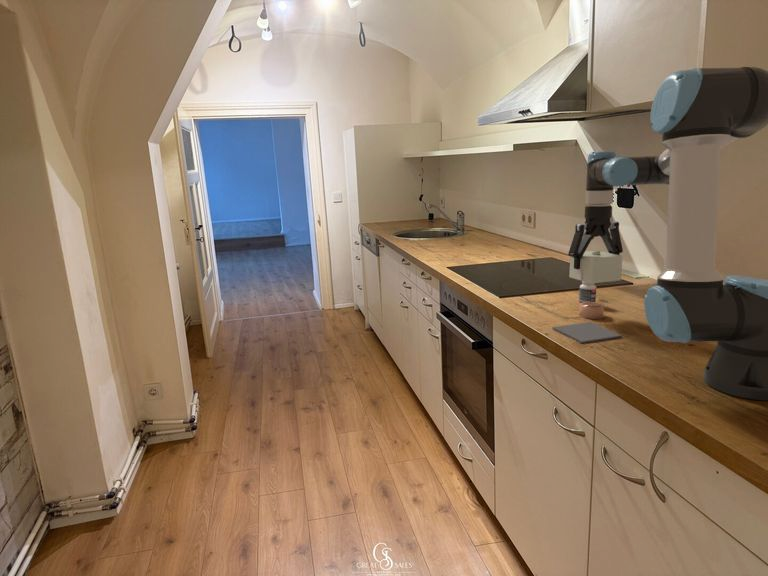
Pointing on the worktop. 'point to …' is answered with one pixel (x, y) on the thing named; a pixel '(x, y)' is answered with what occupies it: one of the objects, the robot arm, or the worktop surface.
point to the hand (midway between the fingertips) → (594, 277)
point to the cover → (599, 267)
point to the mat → (586, 332)
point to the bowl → (591, 310)
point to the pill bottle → (587, 292)
